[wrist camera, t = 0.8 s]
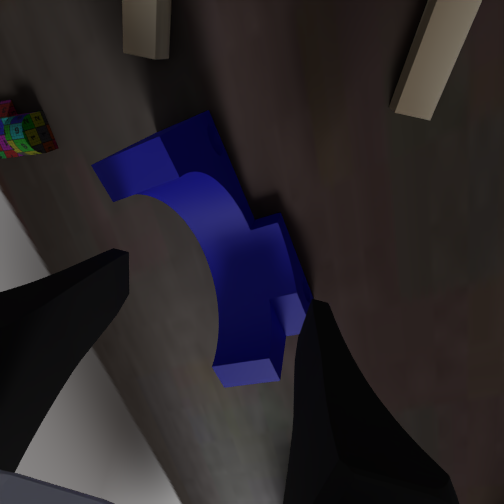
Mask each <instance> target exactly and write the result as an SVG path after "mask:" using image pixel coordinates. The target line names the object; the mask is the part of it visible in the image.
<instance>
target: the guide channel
mask: <svg viewBox="0 0 504 504" xmlns="http://www.w3.org/2000/svg"><path fill="white" fill-rule="evenodd" d="M171 1H172V0H122V16H123V53H127V54H132V55H136V56H141V57H145V58H150V59H154V60H158V59H169V46H170V23H171ZM481 2H482V0H428V1H427V4H426V7H425V10H424V12H423V15H422V18H421V21H420V23H419V26H418V29H417V31H416V34H415V37H414V40H413V42H412V45H411V48H410V51H409V53H408V56H407V59H406V62H405V64H404V67H403V70H402V73H401V75H400V78H399V81H398V83H397V86H396V89H395V92H394V94H393V97H392V100H391V103H390V105H389V108H390V109H392V110H393V111H394V112H395V113H399V114H404V115H408V116H413V117H417V118H422V119H426V120H430V119H431V117H432V115H433V112H434V110H435V108H436V105H437V103H438V101H439V99H440V96H441V94H442V92H443V89H444V87H445V85H446V82H447V80H448V78H449V75H450V73H451V71H452V69H453V66H454V64H455V62H456V59H457V57H458V55H459V52H460V50H461V48H462V45H463V43H464V41H465V39H466V36H467V34H468V32H469V29H470V27H471V25H472V22H473V20H474V18H475V16H476V13H477V11H478V9H479V6H480V4H481Z"/></svg>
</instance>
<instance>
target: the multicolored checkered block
mask: <svg viewBox="0 0 504 504" xmlns="http://www.w3.org/2000/svg"><path fill="white" fill-rule="evenodd" d="M55 149H58V146H57V143H56V141H55V138H54V136H53V134H52V131H51V129H50V126H49V124H48V121H47V119H46V117H45V114H44V112H43V111H37V112H31V113H25V114H17V112H16V110H15V108H14V105H13V103H12V101H11V100H6V101H0V159H2V158H9V157H17V156H25V155H33V154H41V153H47V152H50V151H52V150H55Z"/></svg>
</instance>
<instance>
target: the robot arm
mask: <svg viewBox="0 0 504 504" xmlns="http://www.w3.org/2000/svg"><path fill="white" fill-rule="evenodd" d="M128 295H129V252H126V251H122V250H118V249H114V248H113V249H111V250H108V251H106V252H103V253H101V254H99V255H97V256H94V257H92V258H90V259H88V260H85V261H83V262H81V263H79V264H76V265H74V266H72V267H69V268H67V269H65V270H62V271H60V272H57V273H55V274H52V275H50V276H47V277H45V278H42V279H39V280H37V281H34V282H31V283H28V284H25V285H22V286H19V287H16V288H13V289H9V290H7V291H3V292H0V504H114V503H112V502H109V501H107V500H104V499H101V498H98V497H94V496H91V495H88V494H84V493H81V492H78V491H74V490H71V489H68V488H64V487H61V486H57V485H54V484H51V483H48V482H44V481H41V480H37V479H34V478H31V477H28V476H24V475H21V474H18V473H14V472H15V471H16V469H17V467H18V465H19V463H20V461H21V459H22V457H23V455H24V453H25V451H26V450H27V448H28V446H29V444H30V442H31V441H32V438H33V437H34V435H35V433H36V432H37V430H38V428H39V426H40V425H41V423H42V421H43V419H44V418H45V416H46V414H47V412H48V411H49V409H50V407H51V406H52V404H53V402H54V401H55V399H56V397H57V396H58V394H59V393H60V391H61V389H62V388H63V386H64V384H65V383H66V381H67V380H68V378H69V377H70V375H71V373H72V372H73V370H74V369H75V368H76V366H77V365H78V363H79V362H80V361H81V359H82V358H83V357H84V356H85V354H86V353H87V352H88V351H89V349H90V348H91V347H92V345H93V344H94V343H95V342H96V340H97V339H98V338H99V337H100V335H101V334H102V333H103V332H104V330H105V329H106V328H107V327H108V325H109V324H110V323H111V321H112V320H113V319H114V318H115V316H116V315H117V313H118V312H119V310H120V308H121V307H122V305H123V303H124V302H125V300H126V298H127V296H128ZM283 504H459V502H458V498H457V495H456V492H455V490H454V487H453V485H452V482H451V479H450V477H449V475H448V474H447V473H446V472H445V471H444V470H443V469H442V468H441V467H440V466H439V465H438V464H437V463H436V462H435V461H434V460H433V459H432V458H431V457H430V456H429V455H428V454H427V453H426V452H425V451H424V450H423V449H421V447H420V446H419V445H418V444H417V443H416V442H415V441H414V440H413V439H412V438H411V437H410V436H409V434H408V433H407V432H406V431H405V430H404V429H403V428H402V427H401V426H400V424H399V423H398V422H397V421H396V420H395V418H394V417H393V416H392V415H391V413H390V412H389V411H388V410H387V408H386V407H385V406H384V405H383V403H382V402H381V401H380V399H379V398H378V397H377V395H376V394H375V393H374V391H373V390H372V388H371V387H370V385H369V384H368V382H367V381H366V379H365V378H364V376H363V374H362V373H361V371H360V369H359V368H358V366H357V364H356V362H355V360H354V359H353V357H352V355H351V353H350V351H349V349H348V347H347V345H346V343H345V341H344V339H343V337H342V335H341V332H340V330H339V328H338V326H337V323H336V321H335V318H334V316H333V313H332V311H331V308H330V306H329V304H328V303H326V302H323V301H319V300H315V299H312V300H311V302H310V305H309V308H308V311H307V314H306V317H305V320H304V322H303V325H302V328H301V331H300V334H299V337H298V342H297V349H296V356H295V370H294V417H293V431H292V440H291V448H290V457H289V464H288V472H287V480H286V487H285V494H284V502H283Z"/></svg>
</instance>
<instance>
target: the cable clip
mask: <svg viewBox="0 0 504 504" xmlns="http://www.w3.org/2000/svg"><path fill="white" fill-rule="evenodd" d="M91 166H92V167H93V169H94V171H95V172H96V174H97V176H98V177H99V179H100V181H101V182H102V184H103V186H104V187H105V189H106V191H107V192H108V194H109V196H110V197H111V199H112V201H113V202H115V201H118V200H121V199H123V198H126V197H129V196H131V195H134V194H142V195H148V196H151V197H154V198H157V199H159V200H161V201H163V202H164V203H166V204H167V205H169V206H170V207H171V208H172V209H174V210H175V211H176V212H177V213H178V214H179V215H180V216H181V217H182V218H183V219H184V221H185V222H186V223H187V224H188V226H189V227H190V228H191V230H192V231H193V233H194V234H195V236H196V238H197V240H198V241H199V243H200V245H201V247H202V249H203V251H204V254H205V256H206V259H207V261H208V264H209V267H210V270H211V273H212V276H213V280H214V284H215V289H216V295H217V301H218V312H219V334H218V343H217V350H216V354H215V359H214V362H213V365H212V368H213V369H214V371H215V373H216V374H217V376H218V378H219V379H220V381H221V383H222V384H223V386H224V387H232V386H240V385H248V384H256V383H265V382H273V381H280V377H281V370H282V362H283V355H284V348H285V340H286V336H290V335H296V334H300V331H301V328H302V325H303V322H304V320H305V317H306V314H307V311H308V308H309V305H310V302H311V300H312V299H313V296H312V293H311V291H310V288H309V286H308V283H307V280H306V278H305V275H304V272H303V270H302V267H301V264H300V262H299V259H298V257H297V254H296V251H295V249H294V246H293V243H292V241H291V238H290V236H289V233H288V230H287V228H286V225H285V222H284V220H283V217H282V215H281V212H280V213H276V214H273V215H269V216H266V217H263V218H259V219H256V220H255V219H254V217H253V214H252V212H251V209H250V207H249V205H248V202H247V200H246V198H245V195H244V193H243V190H242V188H241V186H240V183H239V181H238V178H237V176H236V174H235V171H234V169H233V167H232V164H231V162H230V159H229V157H228V155H227V152H226V150H225V148H224V145H223V143H222V140H221V138H220V136H219V133H218V131H217V128H216V126H215V124H214V121H213V119H212V117H211V114H210V112H209V110H208V111H205V112H203V113H201V114H198V115H196V116H194V117H191V118H189V119H187V120H184V121H182V122H180V123H177V124H175V125H173V126H171V127H168V128H166V129H164V130H161V131H159V132H157V133H155V134H153V135H151V136H149V137H147V138H145V139H143V140H141V141H139V142H137V143H135V144H133V145H131V146H129V147H127V148H125V149H123V150H121V151H119V152H117V153H115V154H113V155H111V156H109V157H107V158H105V159H103V160H101V161H99V162H97V163H95V164H93V165H91Z"/></svg>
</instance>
